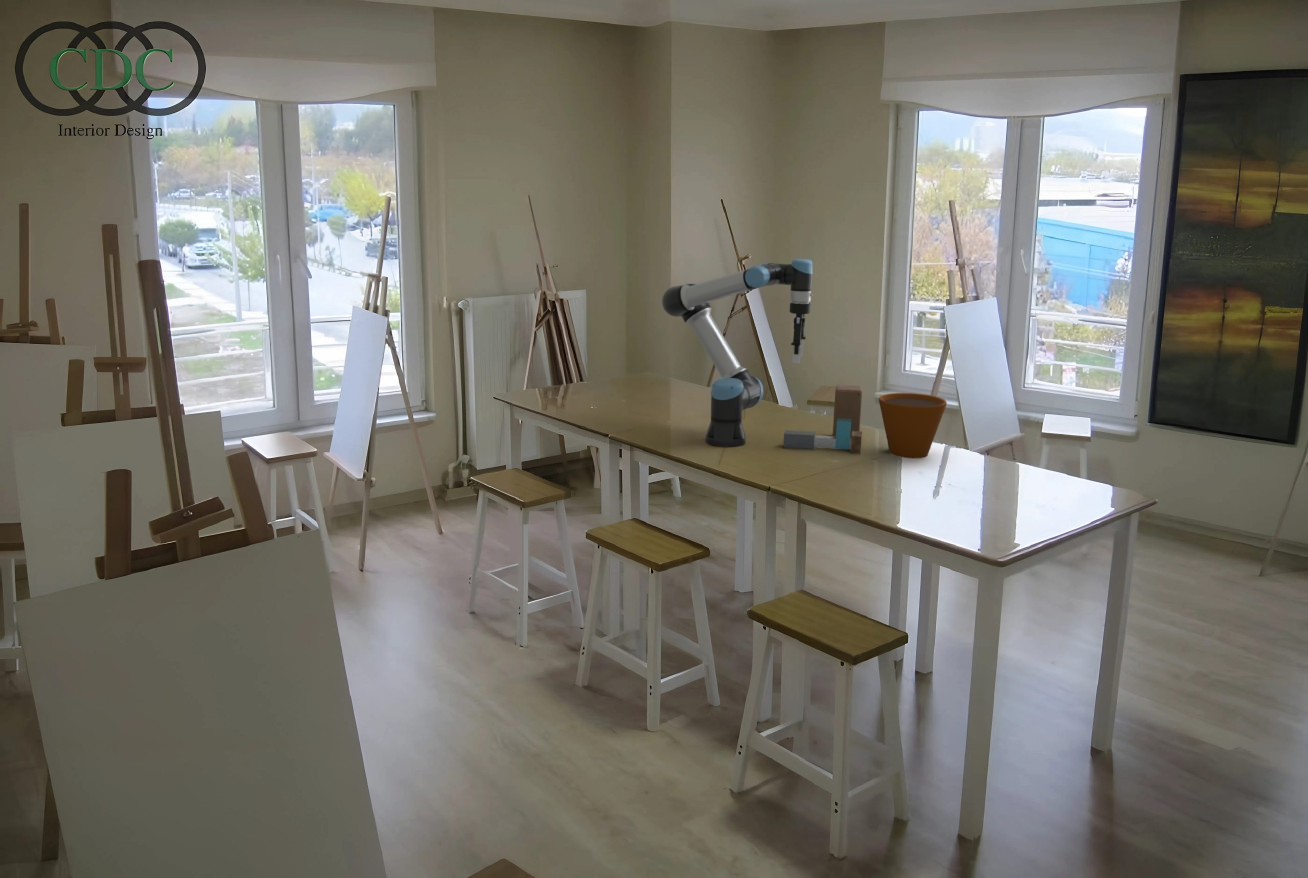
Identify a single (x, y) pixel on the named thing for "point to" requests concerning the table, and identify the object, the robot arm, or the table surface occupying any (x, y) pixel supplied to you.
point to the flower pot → (911, 422)
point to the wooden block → (848, 406)
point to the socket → (856, 442)
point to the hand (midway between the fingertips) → (797, 360)
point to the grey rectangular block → (799, 439)
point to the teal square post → (841, 437)
